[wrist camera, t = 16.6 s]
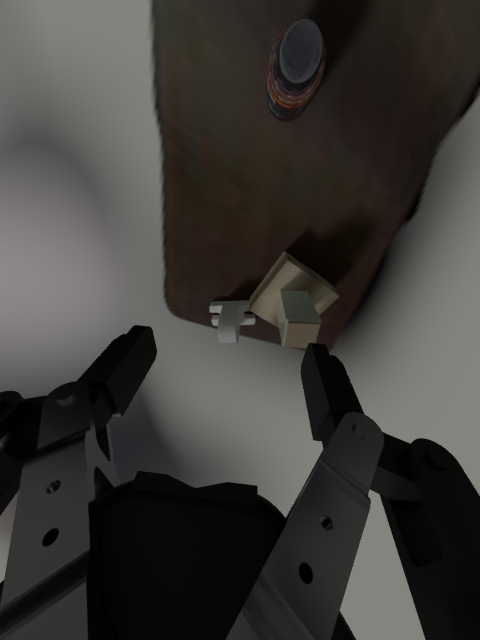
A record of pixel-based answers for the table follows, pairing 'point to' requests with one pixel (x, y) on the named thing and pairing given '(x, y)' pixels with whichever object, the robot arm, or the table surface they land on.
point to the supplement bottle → (295, 69)
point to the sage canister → (297, 319)
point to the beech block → (290, 288)
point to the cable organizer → (230, 319)
